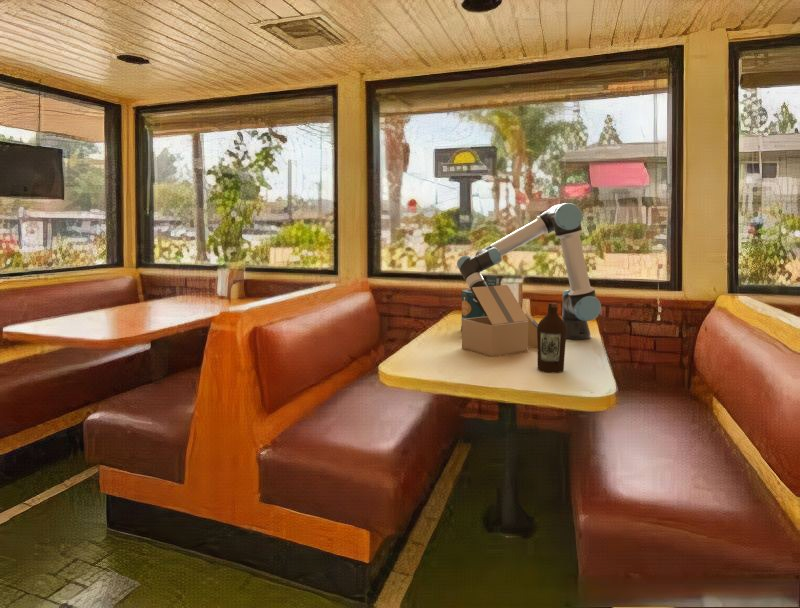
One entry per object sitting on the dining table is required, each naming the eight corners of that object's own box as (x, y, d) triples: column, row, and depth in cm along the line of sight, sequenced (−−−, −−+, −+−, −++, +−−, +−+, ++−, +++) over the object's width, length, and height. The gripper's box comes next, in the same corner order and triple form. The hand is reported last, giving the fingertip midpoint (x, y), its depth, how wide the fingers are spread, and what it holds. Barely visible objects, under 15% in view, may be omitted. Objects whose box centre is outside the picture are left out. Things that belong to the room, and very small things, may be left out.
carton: (461, 348, 244) (462, 319, 242) (496, 343, 254) (497, 315, 253) (491, 357, 227) (492, 325, 225) (527, 351, 237) (528, 321, 236)
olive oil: (537, 365, 213) (539, 300, 210) (566, 367, 209) (569, 302, 206) (533, 371, 203) (536, 304, 200) (563, 374, 200) (566, 305, 196)
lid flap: (471, 288, 235) (472, 287, 235) (506, 285, 245) (507, 284, 245) (492, 325, 225) (493, 324, 225) (528, 320, 235) (528, 320, 235)
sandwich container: (559, 349, 243) (560, 315, 241) (523, 346, 247) (524, 313, 245) (559, 345, 251) (560, 312, 249) (524, 343, 256) (525, 311, 253)
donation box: (499, 333, 279) (500, 278, 275) (469, 335, 274) (470, 278, 271) (485, 328, 294) (487, 275, 290) (457, 329, 290) (458, 276, 286)
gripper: (485, 289, 253) (509, 331, 241) (462, 291, 246) (485, 334, 234) (492, 279, 248) (517, 321, 236) (469, 280, 241) (494, 323, 229)
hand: (501, 327), depth 235 cm, fingers closed
